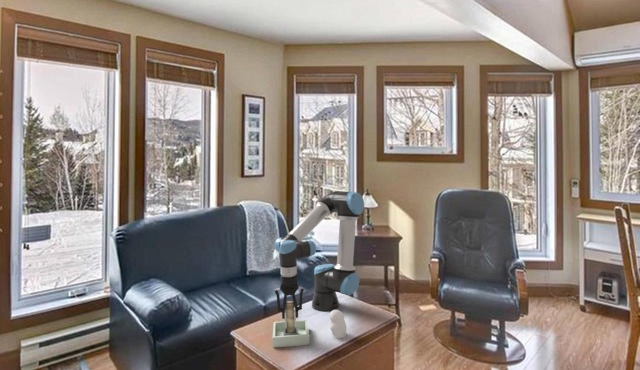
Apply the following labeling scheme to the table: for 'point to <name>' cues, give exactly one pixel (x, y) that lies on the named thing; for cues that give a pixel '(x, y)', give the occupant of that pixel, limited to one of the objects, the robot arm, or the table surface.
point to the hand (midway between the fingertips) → (290, 324)
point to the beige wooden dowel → (290, 316)
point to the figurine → (337, 324)
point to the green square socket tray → (290, 334)
